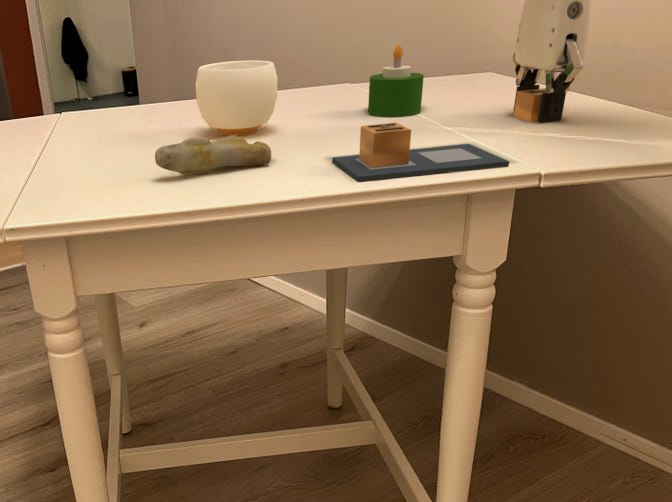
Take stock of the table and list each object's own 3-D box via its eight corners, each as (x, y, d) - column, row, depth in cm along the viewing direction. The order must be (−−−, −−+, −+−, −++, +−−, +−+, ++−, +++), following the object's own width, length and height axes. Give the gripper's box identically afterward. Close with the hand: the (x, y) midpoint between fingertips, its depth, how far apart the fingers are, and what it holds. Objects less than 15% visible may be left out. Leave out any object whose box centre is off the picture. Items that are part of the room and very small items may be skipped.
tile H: (394, 155, 87) (396, 121, 85) (408, 164, 83) (411, 128, 81) (359, 159, 87) (360, 124, 85) (371, 168, 83) (373, 131, 81)
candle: (357, 114, 116) (360, 47, 111) (387, 105, 120) (391, 41, 115) (401, 118, 110) (406, 49, 105) (430, 109, 115) (436, 42, 110)
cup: (200, 143, 104) (196, 73, 99) (197, 127, 115) (193, 63, 110) (283, 137, 104) (283, 66, 99) (272, 121, 115) (271, 57, 110)
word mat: (468, 148, 91) (468, 143, 90) (508, 166, 82) (509, 160, 82) (331, 162, 89) (332, 156, 89) (358, 181, 80) (358, 175, 80)
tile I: (541, 116, 104) (546, 87, 102) (559, 122, 100) (565, 91, 98) (512, 119, 104) (517, 89, 102) (529, 125, 100) (534, 94, 98)
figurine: (250, 138, 94) (144, 138, 88) (270, 126, 89) (159, 125, 83) (254, 177, 94) (149, 180, 88) (275, 167, 89) (164, 169, 83)
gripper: (629, -27, 86) (598, 126, 95) (548, -26, 101) (528, 106, 110) (570, -22, 85) (545, 131, 94) (498, -22, 100) (482, 110, 109)
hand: (536, 116), depth 102 cm, fingers open, 5 cm apart
